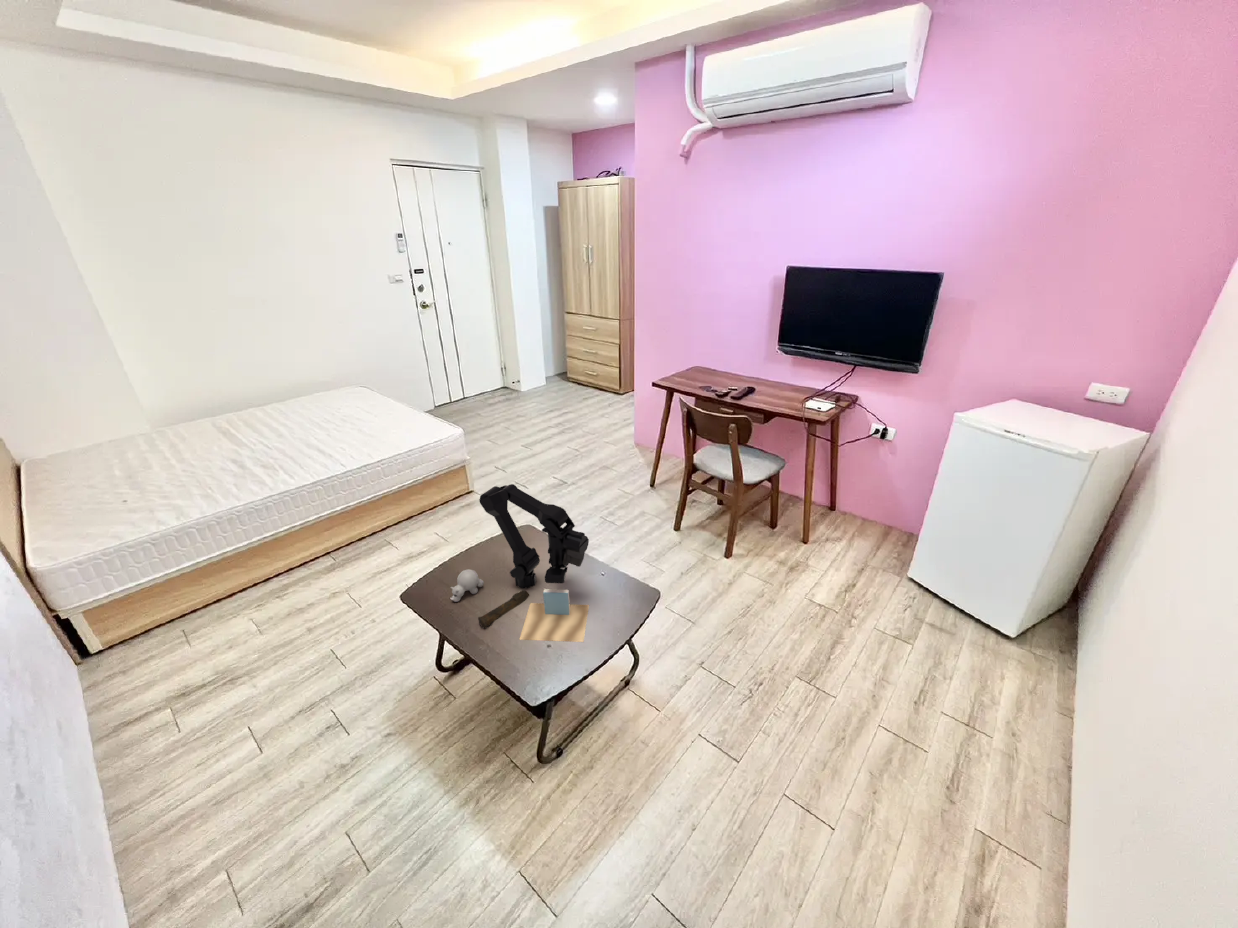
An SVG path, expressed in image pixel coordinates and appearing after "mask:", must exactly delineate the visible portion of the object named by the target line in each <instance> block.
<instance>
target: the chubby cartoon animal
mask: <svg viewBox="0 0 1238 928" xmlns="http://www.w3.org/2000/svg"><path fill="white" fill-rule="evenodd" d="M484 582H485V581H484V580H483V579H481V578H479V575H478V573H477V571H476V570H474V569H464V570H462V571H461V572H460V573H459V574H458V576H457V579H456V583H457V584H456V585H454V586H450V589H451V593H452V596H451V597H449V598H450V600H451V601H453V602H456V603H457V602H459V601H460V600H461V599H462V597H463V596H464V595H465V593H466V591H469V592H470V593H471V594H472V595H476V594H477V593H478V591H479V589H478V588H481V587H483V586H484Z"/></svg>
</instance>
